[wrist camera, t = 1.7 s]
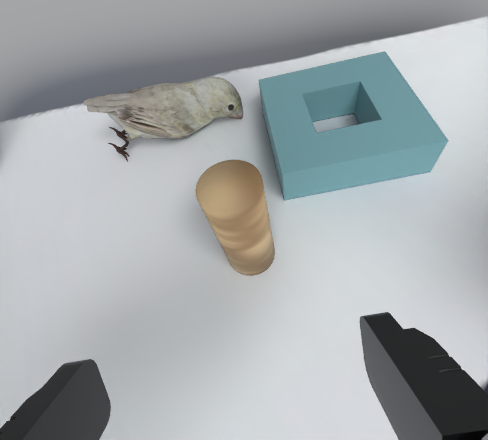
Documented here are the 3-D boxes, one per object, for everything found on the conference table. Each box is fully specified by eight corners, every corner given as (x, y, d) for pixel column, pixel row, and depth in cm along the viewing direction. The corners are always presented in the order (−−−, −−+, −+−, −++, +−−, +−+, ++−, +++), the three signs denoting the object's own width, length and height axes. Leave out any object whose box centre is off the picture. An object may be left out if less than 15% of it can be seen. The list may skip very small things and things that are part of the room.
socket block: (284, 200, 29) (282, 174, 25) (262, 109, 36) (258, 79, 33) (430, 171, 28) (448, 140, 24) (376, 84, 35) (385, 51, 32)
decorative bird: (249, 132, 35) (237, 73, 29) (120, 168, 35) (81, 118, 29) (240, 104, 38) (227, 46, 32) (121, 138, 38) (86, 87, 32)
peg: (231, 279, 26) (196, 220, 17) (226, 237, 28) (194, 167, 19) (278, 270, 25) (267, 206, 17) (270, 229, 27) (257, 154, 19)
